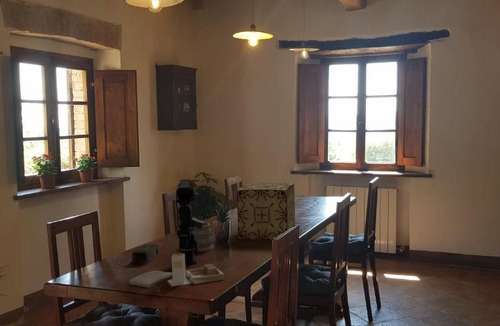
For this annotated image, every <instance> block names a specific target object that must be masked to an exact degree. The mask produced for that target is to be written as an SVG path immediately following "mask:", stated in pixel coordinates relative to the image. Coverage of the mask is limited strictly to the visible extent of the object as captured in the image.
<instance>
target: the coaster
mask: <svg viewBox="0 0 500 326" xmlns="http://www.w3.org/2000/svg"><path fill="white" fill-rule="evenodd" d="M166 280H167V279H166ZM167 282H168V284H169V285H170V286H171V287H175V286H183V285H188V284H189V285H190V284H192V281H191V280H190V279H189V278H188V277H186V280H185V283H180V284H173V279H168V280H167Z"/></svg>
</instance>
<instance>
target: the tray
mask: <svg viewBox="0 0 500 326" xmlns="http://www.w3.org/2000/svg"><path fill="white" fill-rule="evenodd" d="M185 274H186V278H188V279H189V281H190V282H191V283H192V284H193V285H195V284H196V285H197V284H202V283H203V284H204V283H210V282H216V281H217V282H218V281H223V280H224V281H225V274H224V272H222V271H221V270H220V269H219V268H217V275H210V276H206V275H205V274H204V267H200V268H192V269H185Z"/></svg>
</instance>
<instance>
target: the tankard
mask: <svg viewBox="0 0 500 326" xmlns="http://www.w3.org/2000/svg"><path fill="white" fill-rule="evenodd" d="M211 226H212V225H211V223H209V222H204V224H203V227H202V229H198V228H196V227H194V230H193V231H192V233H193V235H194V240H196V242H197V246H198V251H196V253H197V252H199V253H200V252H201V253H202V252H207V251H208V252H209V251H212V250H213V249H214V248H215V245H214V244H213V243H212V242H213V236H212V233H213V228H212V227H211ZM192 228H193V227H192Z"/></svg>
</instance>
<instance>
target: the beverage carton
mask: <svg viewBox="0 0 500 326" xmlns="http://www.w3.org/2000/svg"><path fill="white" fill-rule="evenodd" d="M158 255H159V245H158V244H149V243H147V244H144V245H142V246H140V247H139V248H137V249H136V250H135V251H133V252H132V253H131V265H147V264H148V263H150V262H151V261H153V260H154V259H155V258H156V257H157V256H158Z"/></svg>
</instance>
